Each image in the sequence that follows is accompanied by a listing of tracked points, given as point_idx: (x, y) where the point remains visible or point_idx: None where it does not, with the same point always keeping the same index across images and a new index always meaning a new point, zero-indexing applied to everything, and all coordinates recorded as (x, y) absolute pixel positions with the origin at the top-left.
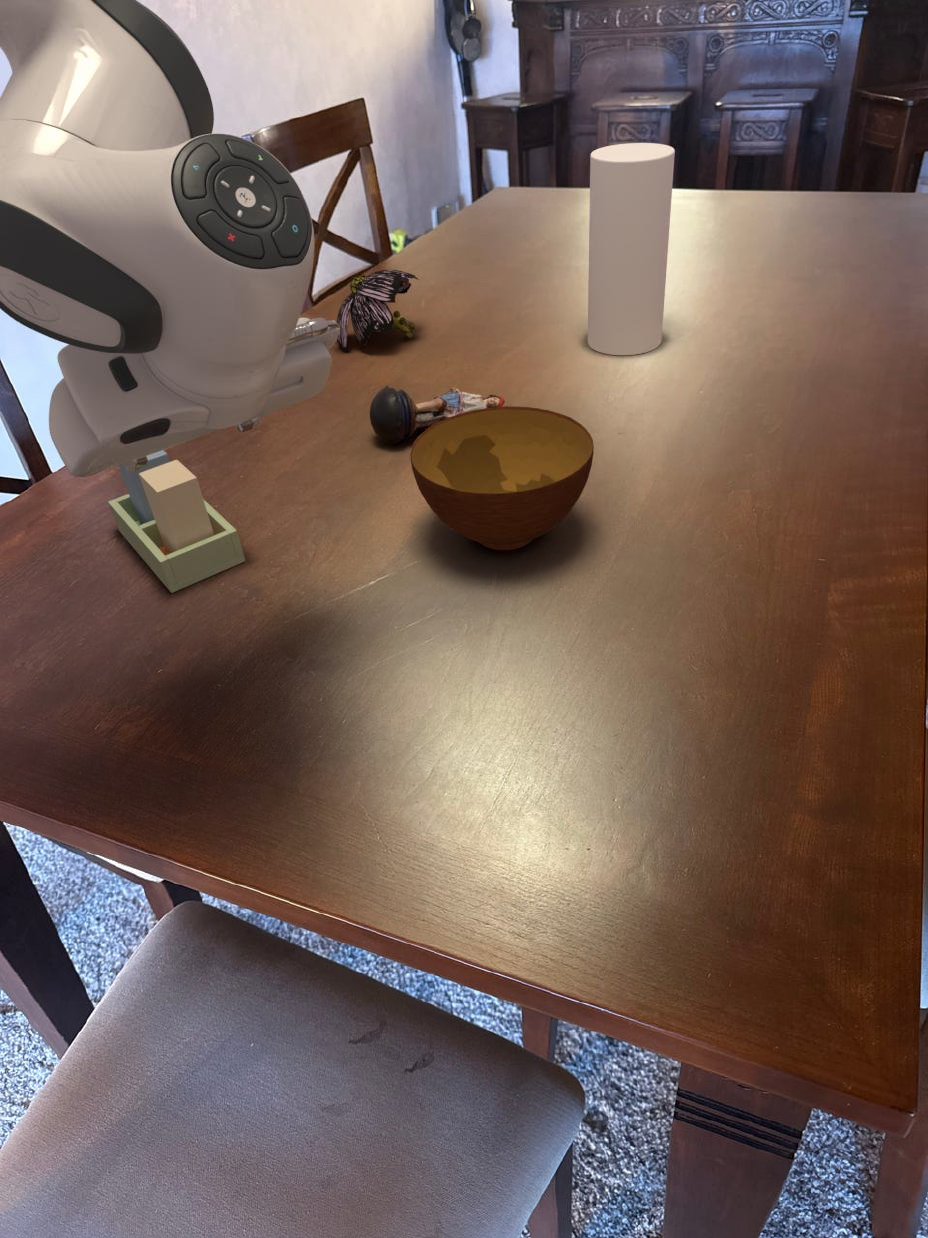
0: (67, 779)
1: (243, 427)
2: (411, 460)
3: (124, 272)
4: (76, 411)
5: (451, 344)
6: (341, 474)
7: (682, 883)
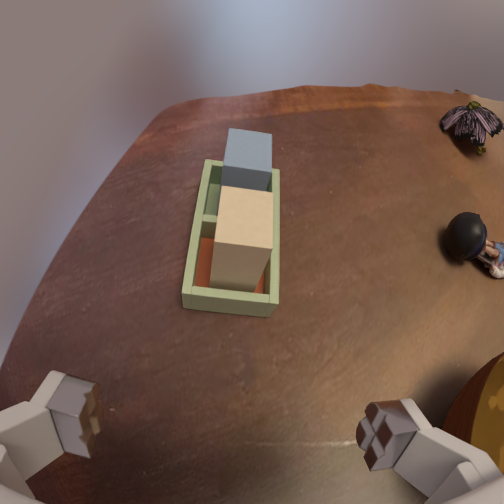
0: None
1: (367, 461)
2: (476, 409)
3: None
4: None
5: (497, 180)
6: (403, 257)
7: None
